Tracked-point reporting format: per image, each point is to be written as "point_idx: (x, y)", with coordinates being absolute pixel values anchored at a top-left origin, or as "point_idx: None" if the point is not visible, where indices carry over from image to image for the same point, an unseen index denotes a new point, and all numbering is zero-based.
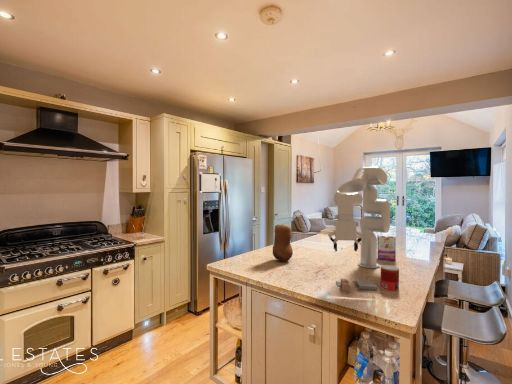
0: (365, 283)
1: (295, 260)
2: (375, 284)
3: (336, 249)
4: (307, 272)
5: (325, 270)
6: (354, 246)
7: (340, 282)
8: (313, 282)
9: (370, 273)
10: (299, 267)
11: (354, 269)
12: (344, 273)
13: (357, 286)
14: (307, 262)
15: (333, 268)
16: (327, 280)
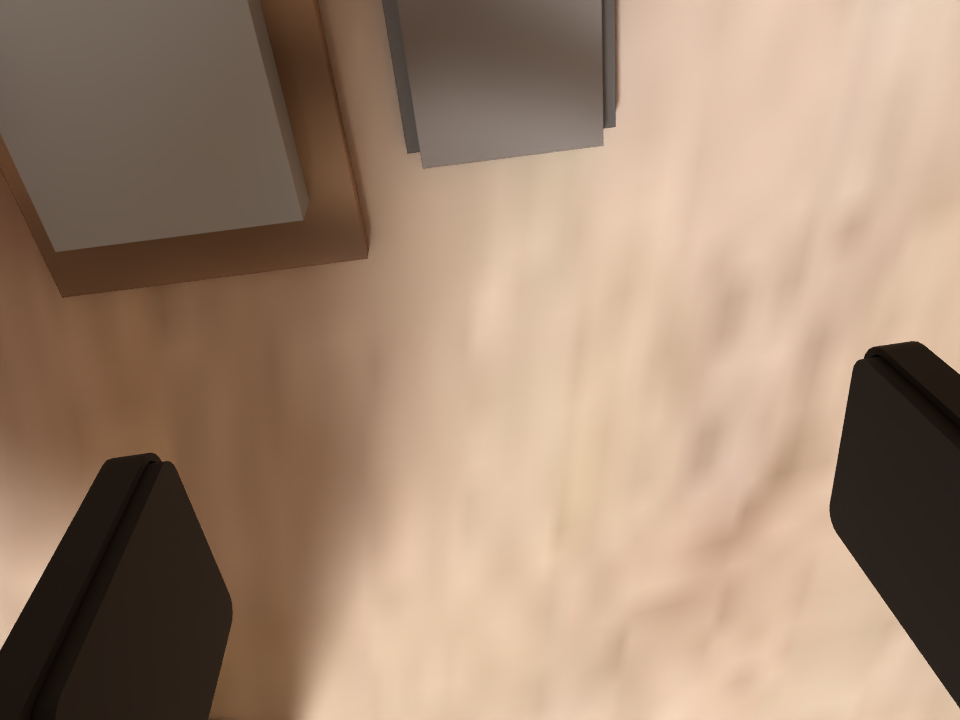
0: (131, 55)
1: (937, 716)
2: (22, 208)
3: (920, 372)
4: None
5: (667, 550)
6: (177, 687)
7: (538, 103)
8: (928, 78)
9: None
10: None
11: (341, 657)
12: (454, 523)
13: (274, 26)
14: (822, 701)
15: (568, 626)
16: (699, 226)
